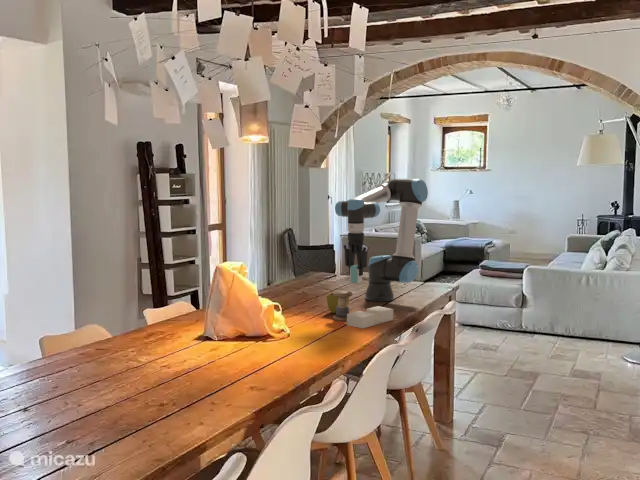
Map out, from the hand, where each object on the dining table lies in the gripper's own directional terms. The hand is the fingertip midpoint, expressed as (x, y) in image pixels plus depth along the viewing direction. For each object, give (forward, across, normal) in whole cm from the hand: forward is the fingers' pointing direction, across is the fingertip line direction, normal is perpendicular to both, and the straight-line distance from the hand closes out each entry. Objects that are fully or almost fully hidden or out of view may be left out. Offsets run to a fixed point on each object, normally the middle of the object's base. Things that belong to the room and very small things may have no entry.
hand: (356, 281), depth 293 cm
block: (0, 0, 0) cm, 0 cm away
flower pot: (+16, -10, -1) cm, 19 cm away
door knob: (+16, 0, -9) cm, 18 cm away
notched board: (+16, +14, -6) cm, 22 cm away
